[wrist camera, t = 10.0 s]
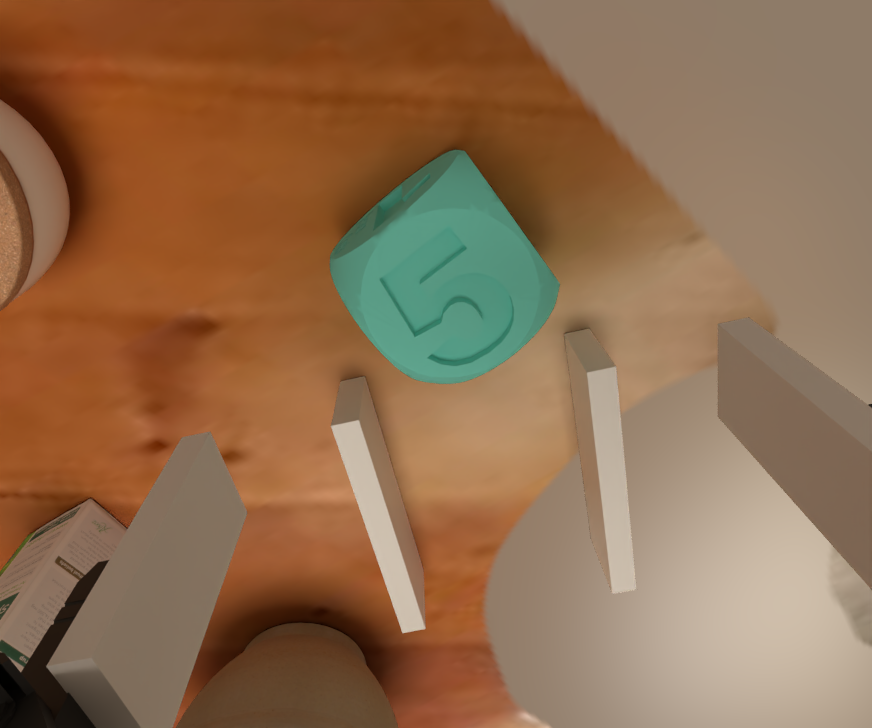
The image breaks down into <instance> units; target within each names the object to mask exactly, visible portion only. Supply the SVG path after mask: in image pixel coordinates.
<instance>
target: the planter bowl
mask: <svg viewBox="0 0 872 728" xmlns="http://www.w3.org/2000/svg"><path fill="white" fill-rule="evenodd" d="M176 728H398V725H397V722H396V719H395V715H394V713H393V710H392V708H391V705H390V703H389V701H388V699H387V697H386V695H385V693H384V691H383V689H382V687H381V685H380V684H379V682H378V681H377V679H376V678H375V676H374V675H373V673H372V672H371V671H370V670H369V668H368V667H367V666H366V660H365V657H364V655H363V653H362V651H361V649H360V648H359V647H358V645H357V644H356V643H355V642H354V641H353V640H352V639H351V638H349V637H348V636H347V635H345V634H343V633H342V632H340V631H338V630H335V629H333V628H330V627H327V626H323V625H319V624H313V623H289V624H283V625H279V626H276V627H273V628H270V629H268V630H266V631H264V632H262V633H261V634H259V635H258V636H256V637H255V638H254V639H253V640H252V641H251V642H250V643H249V644H248V645H247V647H246V648H245V650H244V652H243V653H241V654H240V655H238V656H237V657H236V658H234V659H233V660H232V661H230V662H229V663H228V664H227V665H226V666H224V667H223V668H222V669H221V670H220V671H219V672H218V673H217V674H216V675H215V676H214V677H213V678H212V679H211V680H210V681H209V682H208V683H207V684H206V685H205V687H204V688H203V689H202V690H201V691H200V693H199V694H198V695H197V696H196V698H195V699H194V700H193V702H192V703H191V704H190V706H189V707H188V709H187V710H186V712H185V713H184V715H183V716H182V718H181V720H180V721H179V723H178V725H177V727H176Z"/></svg>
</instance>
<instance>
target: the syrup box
mask: <svg viewBox="0 0 872 728" xmlns="http://www.w3.org/2000/svg"><path fill="white" fill-rule="evenodd" d="M126 531H127V529H126V528H125V527H124V526H123V525H122V524H121V523H120V522H118V521H117V520H116V519H115V518H114V517H113V516H111V515H110V514H109V513H108V512H107V511H105V510H104V509H103V508H102V507H101V506H100V505H98V504H97V503H96V502H94V500H92V499H88V500H87V501H85V502H84V503H82V504H80V505H78V506H77V507H75V508H73V509H71V510H69V511H67V512H66V513H64V514H62V515H61V516H59V517H57V518H56V519H54V520H52V521H51V522H49V523H48V524H46V525H44V526H43V527H41V528H39V529H38V530H36V531H35V532H33V533H32V534H30V535H28V536H27V537H26V539H25V540H24V541H23V543H22V544H21V545H20V547H19V548H18V549H17V550H16V552H15V553H14V554H13V556H12V557H11V558H10V559H9V561H8V562H7V563H6V565H5V566H4V567H3V568H2V570H1V571H0V652H2V653H5V654H6V655H7V656H8V657H9V659H10V660H11V661H12V662H13V664H14V665H15V666H16V667H17V668H18V670H19V671H20V672H21V671H22V670H23V668H24V667H25V665H26V664H27V662H28V660H29V659H30V657H31V656H32V654H33V652H34V651H35V649H36V648H37V646H38V644H39V643H40V641H41V640H42V638H43V636H44V635H45V633H46V632H47V630H48V629H49V627H50V625H53V624H54V619H55V617H56V616H57V614H58V613H59V611H60V609H61V608H62V607H65V604H64V603H65V601H66V600H67V598H68V597H69V595H70V594H71V592H72V590H73V589H74V587H75V586H76V584H77V582H78V581H79V580H80V579H81V578H82V577H83V576H84V575H86V574H87V573H88V572H89V571H90V570H91V569H92V568H93V567H94V566H95V565H96V564H97V563H98V562H101V561H106V560H110V558H111V556H112V555H113V553H114V551H115V550H116V548H117V546H118V545H119V543H120V541H121V539H122V538H123V536H124V534H125V533H126Z"/></svg>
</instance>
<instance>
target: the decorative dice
mask: <svg viewBox="0 0 872 728" xmlns="http://www.w3.org/2000/svg"><path fill="white" fill-rule="evenodd" d="M330 272H331V276H332V279H333V282H334V284H335V287H336V289H337V291H338V293H339V295H340V297H341V299H342V301H343V302H344V304H345V306H346V308H347V309H348V311H349V312H350V314H351V315H352V317H353V318H354V320H355V321H356V323H357V324H358V326H359V327H360V328H361V330H362V331H363V332H364V333H365V335H366V336H367V337H368V338H369V340H370V341H371V342H372V343H373V344H374V346H375V347H376V348H377V349H378V350H379V351H380V352H381V353H382V354H383V355H384V356H385V357H386V358H387V359H388V360H389V361H390V362H391V363H392V364H393V365H394V366H395V367H397V368H398V369H399V370H400V371H402V372H403V373H404V374H406V375H407V376H409V377H411V378H413V379H415V380H418V381H423V382H429V383H438V384H452V383H461V382H465V381H468V380H471V379H473V378H476V377H478V376H480V375H483V374H485V373H486V372H488V371H490V370H492V369H494V368H495V367H497V366H498V365H500V364H501V363H503V362H504V361H506V360H507V359H509V358H510V357H511V356H512V355H514V354H515V353H516V352H517V351H519V350H520V349H521V348H522V347H523V346H524V345H525V344H526V343H527V342H528V341H529V340H530V339H531V338H532V337H533V336H534V335H535V334H536V333H537V332H538V331H539V330H540V328H541V327H542V326H543V325H544V323H545V322H546V320H547V319H548V317H549V316H550V314H551V312H552V310H553V308H554V306H555V303H556V300H557V295H558V291H559V287H560V283H559V282H558V280H557V279H556V278H555V276H554V275H553V273H552V272H551V270H550V269H549V268H548V266H547V265H546V263H545V262H544V261H543V259H542V258H541V256H540V255H539V254H538V252H537V251H536V249H535V248H534V247H533V245H532V244H531V242H530V241H529V240H528V238H527V237H526V235H525V234H524V233H523V231H522V230H521V228H520V227H519V226H518V224H517V223H516V221H515V220H514V219H513V217H512V216H511V214H510V213H509V212H508V210H507V209H506V207H505V206H504V205H503V203H502V202H501V200H500V199H499V198H498V196H497V195H496V194H495V192H494V191H493V189H492V188H491V187H490V185H489V184H488V182H487V181H486V180H485V178H484V177H483V175H482V174H481V173H480V171H479V170H478V168H477V167H476V166H475V164H474V163H473V162H472V160H471V159H470V157H469V156H468V155H467V153H466V152H465V151H462V150H452V151H449V152H447V153H445V154H443V155H441V156H439V157H438V158H436V159H434V160H433V161H431V162H430V163H428V164H427V165H425V166H424V167H422V168H421V169H420V170H418V171H417V172H415V173H414V174H413V175H411V176H410V177H409V178H407V179H406V180H405V181H404V182H402V183H401V184H400V185H399V186H397V187H396V188H395V189H394V190H392V191H391V192H390V193H389V194H388V195H386V196H385V197H384V198H383V199H382V200H381V201H379V202H378V203H377V204H376V205H375V206H374V207H373V208H372V209H371V210H369V211H368V212H367V213H366V214H365V215H364V216H363V217H362V218H361V219H360V220H359V221H358V222H357V223H356V224H355V225H354V226H353V227H352V228H351V229H350V230H349V231H348V232H347V233H346V234H345V236H344V237H343V238H342V239H341V240H340V241H339V243H338V244H337V245H336V247H335V248H334V249H333V251H332V253H331V255H330Z"/></svg>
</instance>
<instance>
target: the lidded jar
mask: <svg viewBox="0 0 872 728" xmlns="http://www.w3.org/2000/svg"><path fill="white" fill-rule="evenodd" d="M69 218H70V201H69V195H68V190H67V185H66V182H65V179H64V176H63V173H62V170H61V168H60V166H59V164H58V162H57V160H56V158H55V156H54V154H53V152H52V151H51V149H50V148H49V146H48V145H47V143H46V142H45V141H44V139H43V138H42V136H41V135H40V134H39V133H38V132H37V131H36V130H35V128H34V127H33V126H32V125H31V124H30V123H29V122H28V121H27V120H26V119H25V118H24V117H22V116H21V115H20V114H19V113H18V112H17V111H16V110H15V109H13V108H12V107H10V106H9V105H7V104H6V103H5V102H3V101H2V100H0V311H1V310H2V309H3V308H5V307H6V306H7V305H8V304H9V303H10V302H12V301H13V300H15V299H16V298H18V297H19V296H20V295H22V294H23V293H24V292H26V291H27V290H28V289H30V288H31V287H32V286H33V285H34V284H35V283H36V282H37V281H38V280H39V279H40V278H41V277H42V276H43V275H44V274H45V273H46V272H47V270H48V269H49V268H50V267H51V265H52V264H53V262H54V261H55V259H56V258H57V256H58V254H59V253H60V251H61V249H62V247H63V244H64V241H65V238H66V235H67V231H68V225H69Z"/></svg>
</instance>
